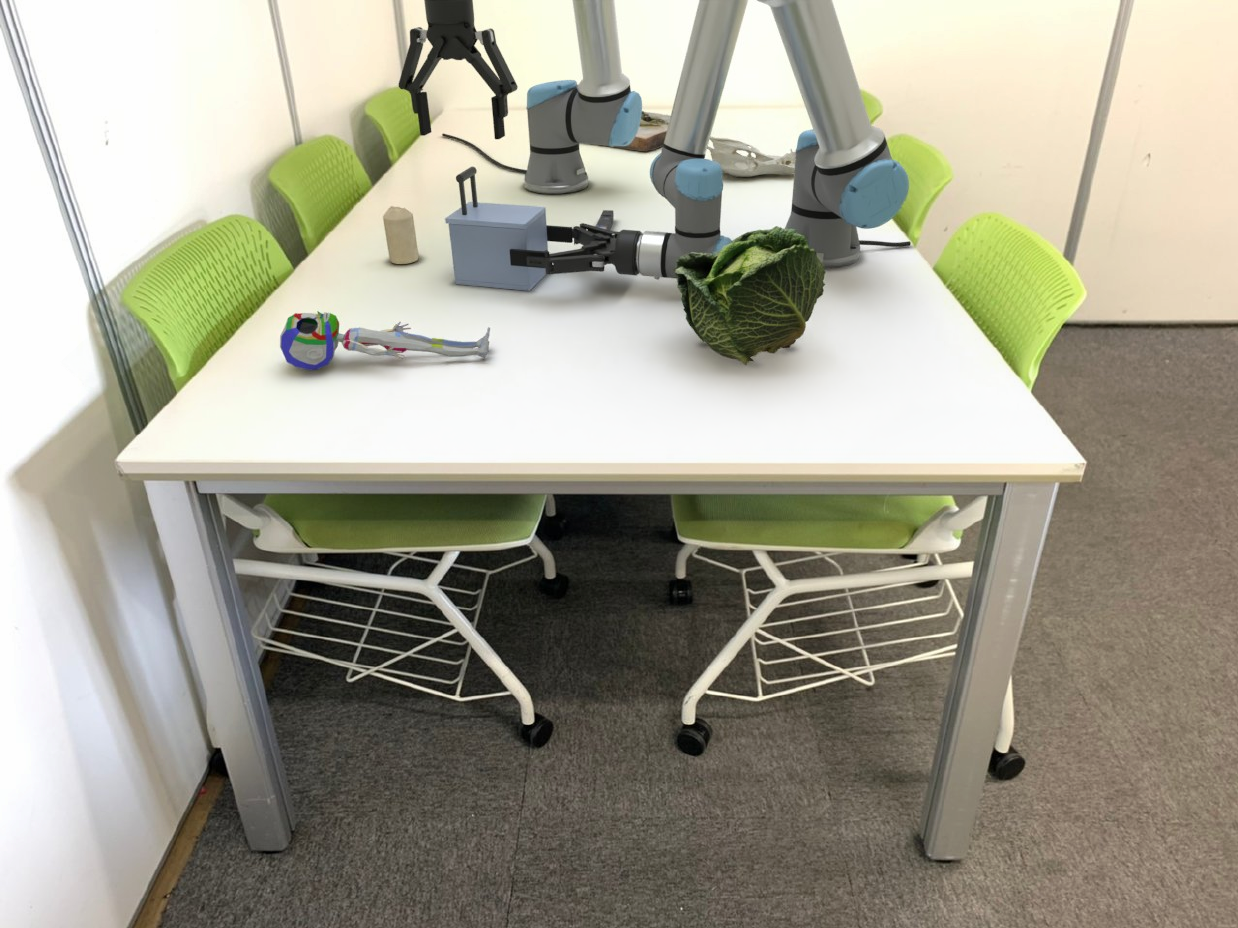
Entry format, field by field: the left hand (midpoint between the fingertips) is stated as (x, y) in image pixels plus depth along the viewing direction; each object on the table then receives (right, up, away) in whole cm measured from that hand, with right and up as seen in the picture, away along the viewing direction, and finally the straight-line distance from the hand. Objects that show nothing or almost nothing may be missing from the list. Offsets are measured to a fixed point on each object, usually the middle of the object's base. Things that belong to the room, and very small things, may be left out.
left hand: (462, 136), depth 152 cm
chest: (+5, -22, +12) cm, 25 cm away
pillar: (+23, -9, +31) cm, 40 cm away
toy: (-8, -40, -17) cm, 44 cm away
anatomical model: (+58, +16, +70) cm, 92 cm away
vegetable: (+46, -38, -16) cm, 62 cm away
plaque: (+31, +39, +107) cm, 118 cm away
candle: (-15, -17, +20) cm, 30 cm away
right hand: (+10, -17, +7) cm, 21 cm away
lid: (+5, -12, +6) cm, 14 cm away
